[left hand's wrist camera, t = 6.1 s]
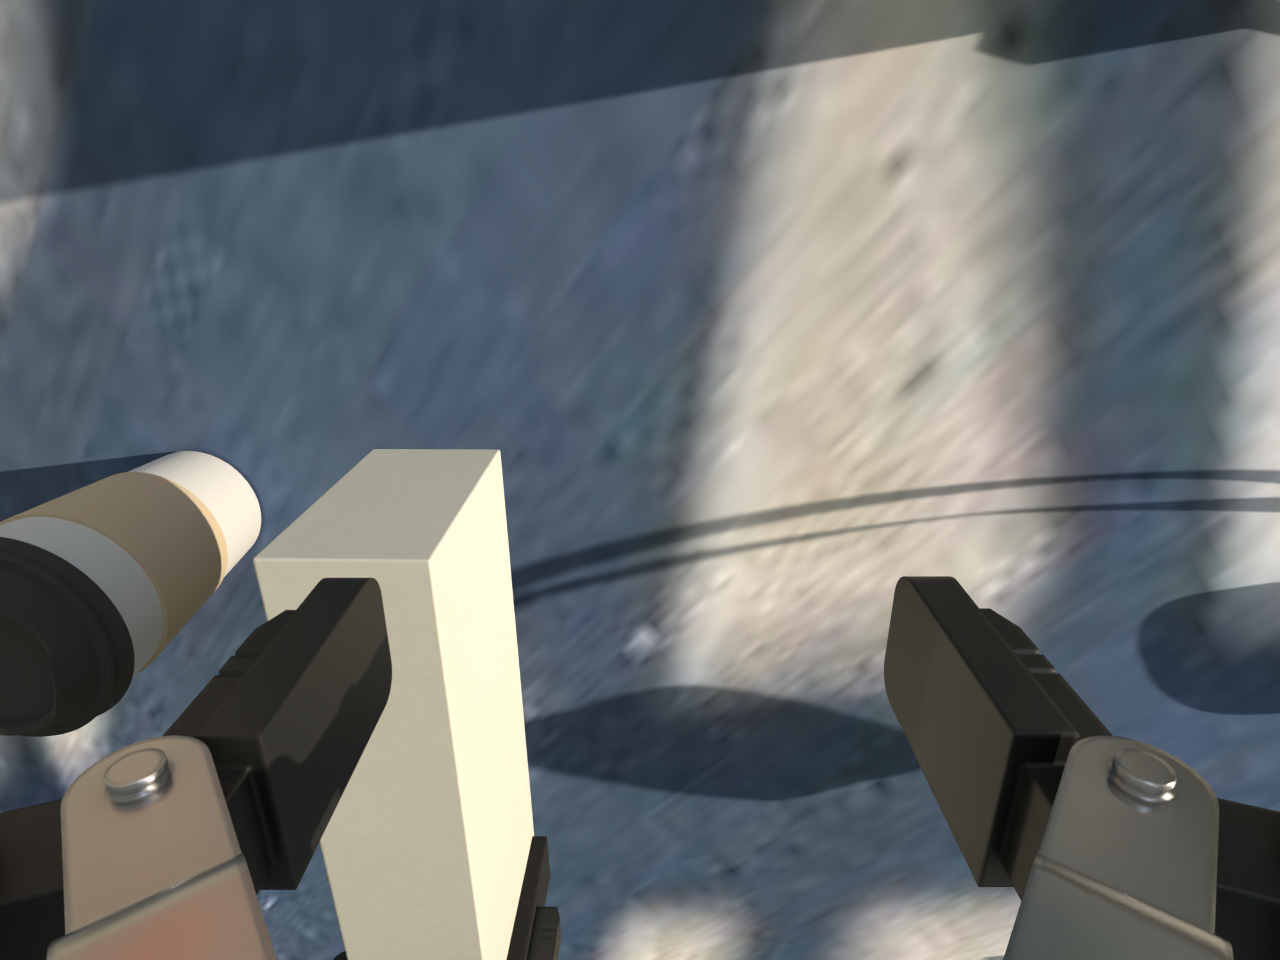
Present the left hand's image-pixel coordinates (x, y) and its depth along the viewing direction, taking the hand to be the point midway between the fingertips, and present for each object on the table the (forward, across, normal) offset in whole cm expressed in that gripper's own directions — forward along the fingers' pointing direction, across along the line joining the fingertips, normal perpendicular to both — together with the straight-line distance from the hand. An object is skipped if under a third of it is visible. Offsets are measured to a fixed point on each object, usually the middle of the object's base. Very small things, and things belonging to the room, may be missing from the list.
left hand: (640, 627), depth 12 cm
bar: (+19, -8, -16) cm, 26 cm away
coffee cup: (+28, -25, -11) cm, 39 cm away
